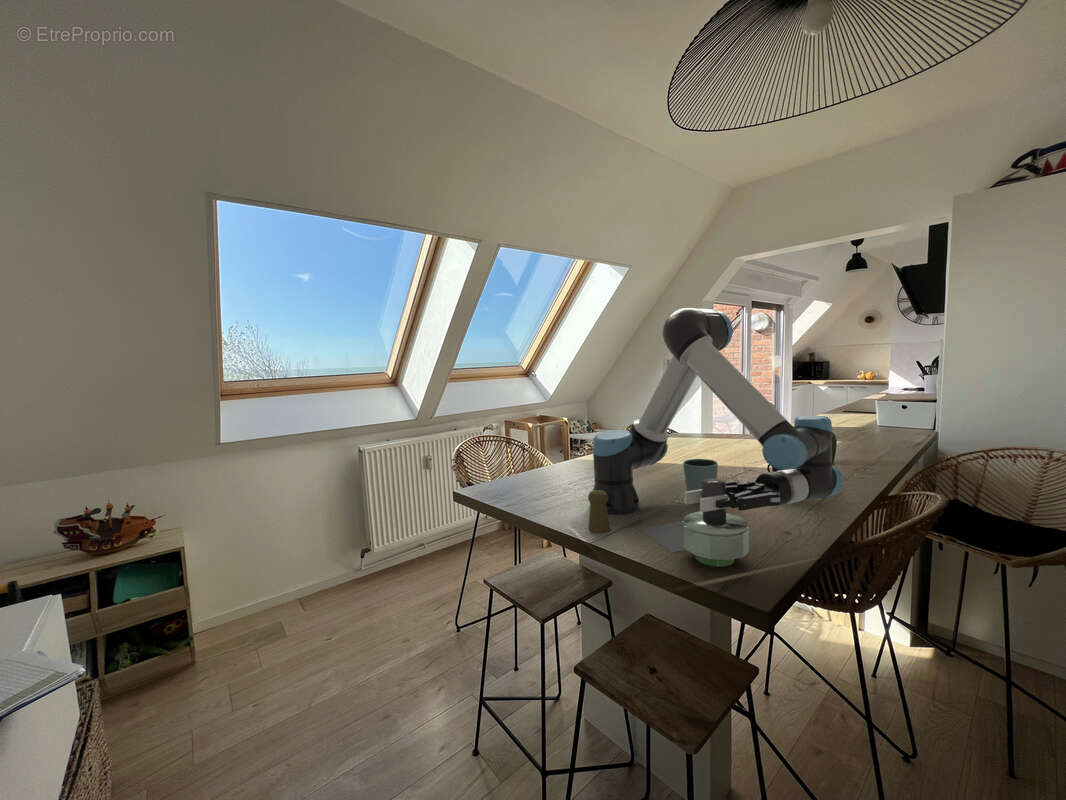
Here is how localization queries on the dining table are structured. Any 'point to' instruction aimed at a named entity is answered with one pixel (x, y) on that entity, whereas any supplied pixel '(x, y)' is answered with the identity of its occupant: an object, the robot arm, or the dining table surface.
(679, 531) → the mat
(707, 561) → the ramekin
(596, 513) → the cork
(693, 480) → the teal cup
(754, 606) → the dining table surface
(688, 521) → the cover
